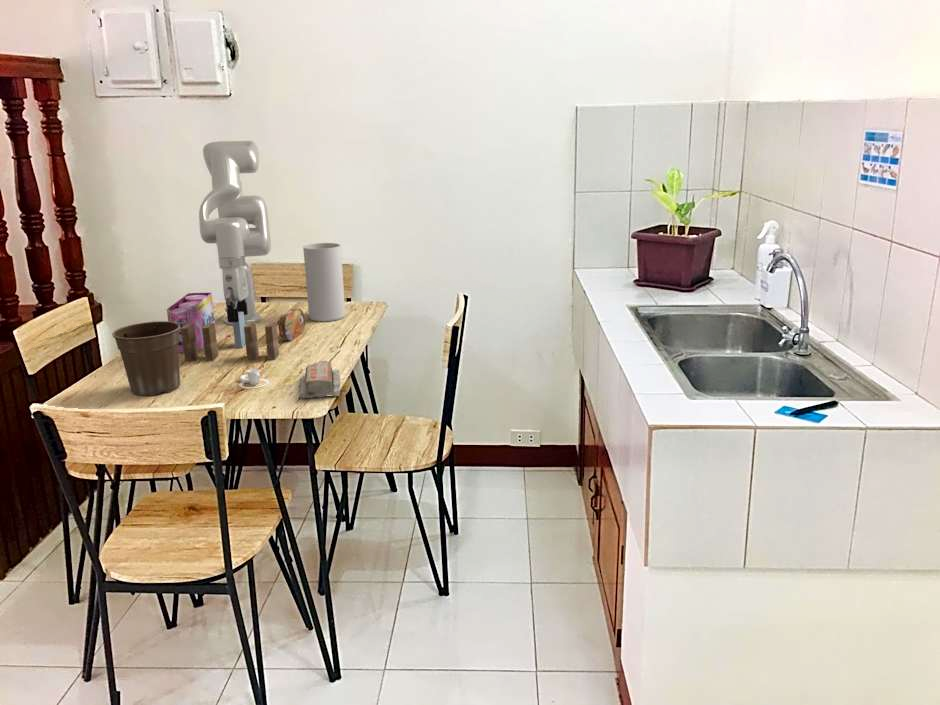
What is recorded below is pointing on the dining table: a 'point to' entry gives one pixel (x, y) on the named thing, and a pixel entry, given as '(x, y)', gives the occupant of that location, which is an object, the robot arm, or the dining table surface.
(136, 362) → the plant pot
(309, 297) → the cylinder vase
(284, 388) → the dining table surface
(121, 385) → the dining table surface
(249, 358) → the domino
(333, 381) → the packaged product
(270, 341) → the domino
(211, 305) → the gum box
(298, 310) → the tin
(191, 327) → the domino
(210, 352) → the domino
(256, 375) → the teacup and saucer
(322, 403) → the dining table surface
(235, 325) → the domino
